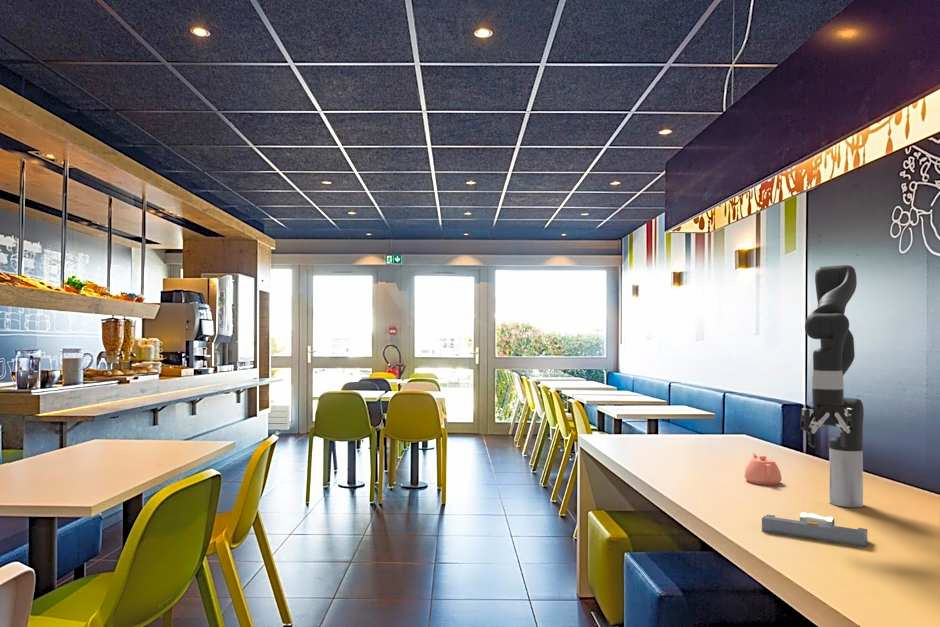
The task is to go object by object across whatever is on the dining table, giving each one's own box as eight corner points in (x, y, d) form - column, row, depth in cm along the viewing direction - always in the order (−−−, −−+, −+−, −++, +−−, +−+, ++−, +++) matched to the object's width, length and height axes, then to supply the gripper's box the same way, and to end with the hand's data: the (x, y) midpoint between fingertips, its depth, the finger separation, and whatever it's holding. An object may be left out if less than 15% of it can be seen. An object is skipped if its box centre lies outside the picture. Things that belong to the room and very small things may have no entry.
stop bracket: (767, 525, 190) (767, 511, 190) (867, 540, 176) (867, 525, 176) (761, 531, 184) (761, 516, 184) (865, 547, 170) (864, 531, 170)
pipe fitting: (805, 524, 194) (799, 527, 188) (806, 510, 194) (799, 512, 189) (837, 529, 189) (831, 533, 183) (837, 515, 189) (831, 518, 184)
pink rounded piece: (752, 486, 241) (752, 459, 241) (737, 476, 258) (737, 450, 259) (788, 487, 239) (788, 460, 240) (770, 477, 257) (770, 451, 258)
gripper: (845, 385, 190) (846, 444, 190) (794, 385, 190) (795, 444, 190) (861, 388, 183) (862, 449, 183) (809, 388, 182) (809, 449, 182)
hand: (828, 446), depth 186 cm, fingers open, 8 cm apart
